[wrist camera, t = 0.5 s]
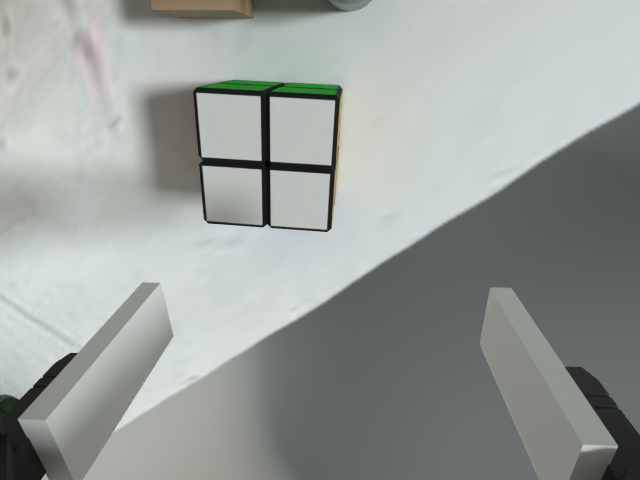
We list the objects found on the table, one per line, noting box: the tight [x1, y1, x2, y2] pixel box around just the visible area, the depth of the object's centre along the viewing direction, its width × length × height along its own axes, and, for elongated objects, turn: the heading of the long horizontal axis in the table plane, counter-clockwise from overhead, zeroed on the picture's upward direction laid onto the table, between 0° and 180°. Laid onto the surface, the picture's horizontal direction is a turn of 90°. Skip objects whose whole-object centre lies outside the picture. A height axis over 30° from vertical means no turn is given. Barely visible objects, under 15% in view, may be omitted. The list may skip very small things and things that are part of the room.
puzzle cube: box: [193, 80, 343, 232], centre depth 32 cm, size 10×10×10 cm
